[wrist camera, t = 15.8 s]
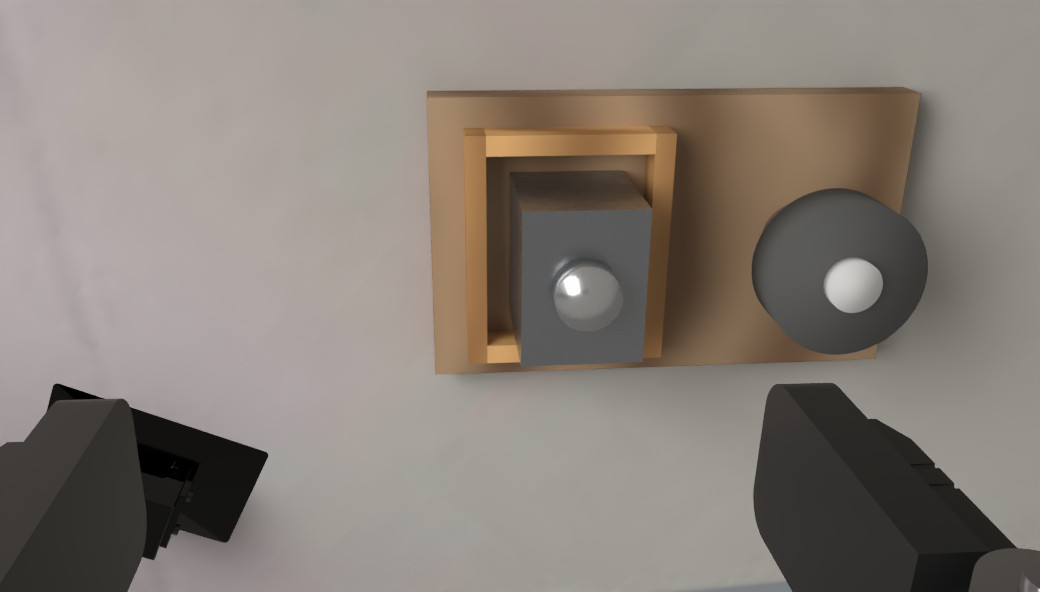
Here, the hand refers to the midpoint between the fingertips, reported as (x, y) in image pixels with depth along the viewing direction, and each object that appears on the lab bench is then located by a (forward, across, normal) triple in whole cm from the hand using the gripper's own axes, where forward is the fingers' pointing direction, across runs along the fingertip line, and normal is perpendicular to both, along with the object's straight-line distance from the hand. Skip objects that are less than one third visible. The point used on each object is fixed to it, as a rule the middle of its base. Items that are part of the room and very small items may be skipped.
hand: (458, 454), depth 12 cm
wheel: (+22, -15, +6) cm, 28 cm away
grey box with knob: (+26, -6, +6) cm, 27 cm away
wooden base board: (+27, -10, +6) cm, 30 cm away
